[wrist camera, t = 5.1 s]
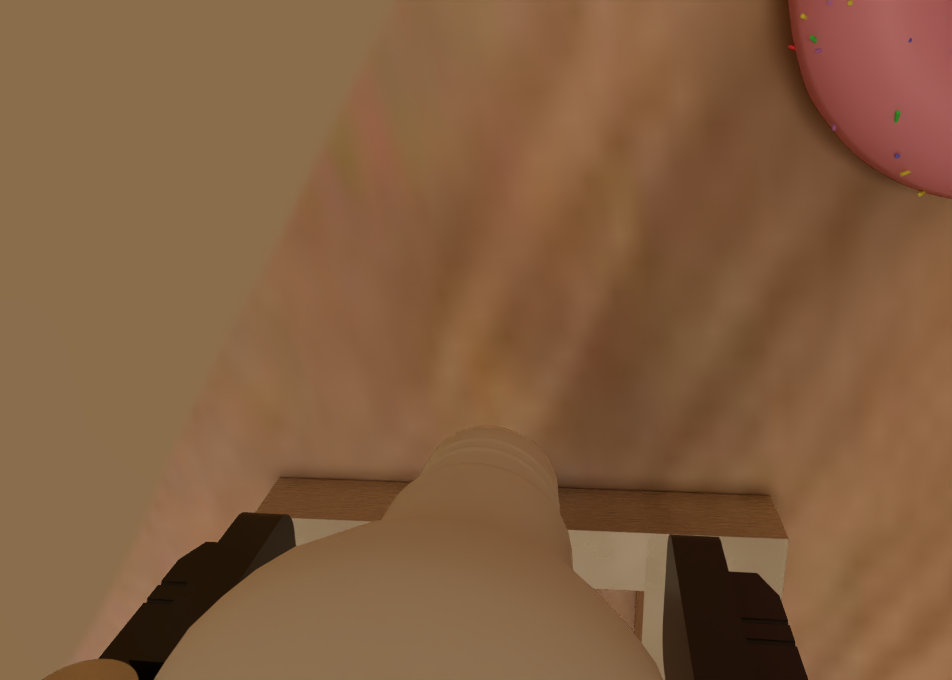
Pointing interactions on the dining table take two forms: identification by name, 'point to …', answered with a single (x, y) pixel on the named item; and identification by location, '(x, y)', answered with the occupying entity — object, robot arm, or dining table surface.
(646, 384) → the dining table surface
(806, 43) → the doughnut
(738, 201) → the dining table surface
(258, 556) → the robot arm
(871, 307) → the dining table surface
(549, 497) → the lightbulb
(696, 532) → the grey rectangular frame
